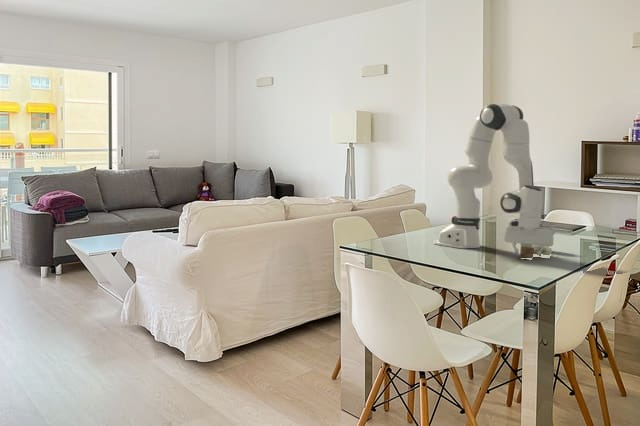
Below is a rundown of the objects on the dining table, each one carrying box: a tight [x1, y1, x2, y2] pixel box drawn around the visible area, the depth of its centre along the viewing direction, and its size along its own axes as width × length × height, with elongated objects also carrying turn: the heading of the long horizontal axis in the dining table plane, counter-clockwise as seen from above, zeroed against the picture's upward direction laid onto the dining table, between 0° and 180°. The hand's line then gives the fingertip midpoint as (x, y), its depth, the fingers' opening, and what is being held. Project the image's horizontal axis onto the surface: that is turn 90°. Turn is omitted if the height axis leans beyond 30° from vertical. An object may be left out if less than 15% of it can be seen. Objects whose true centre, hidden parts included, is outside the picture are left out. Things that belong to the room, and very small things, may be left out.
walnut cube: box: [519, 247, 534, 259], centre depth 243 cm, size 5×5×5 cm
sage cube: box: [518, 243, 533, 252], centre depth 256 cm, size 5×5×5 cm
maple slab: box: [532, 246, 553, 255], centre depth 250 cm, size 8×8×4 cm
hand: (527, 254), depth 242 cm, fingers open, 8 cm apart
